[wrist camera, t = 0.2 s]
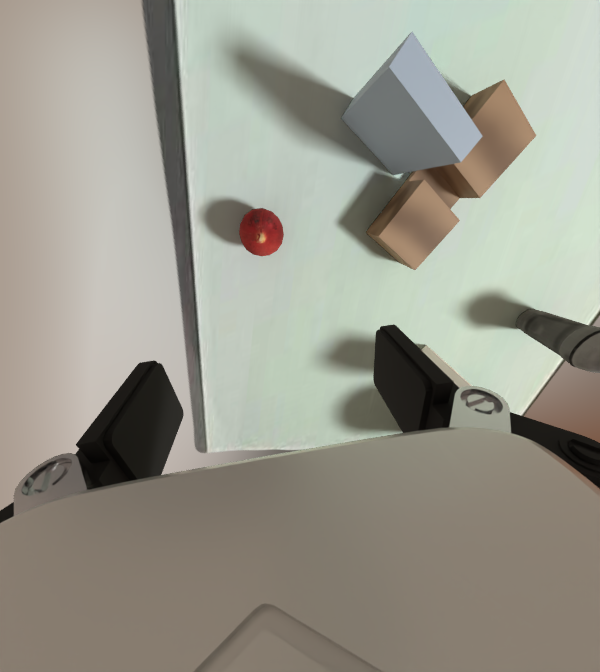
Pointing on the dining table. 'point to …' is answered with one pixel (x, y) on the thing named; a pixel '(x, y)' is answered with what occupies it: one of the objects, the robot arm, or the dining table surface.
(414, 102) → the grey block
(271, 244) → the red pomegranate
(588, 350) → the beverage cup
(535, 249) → the dining table surface
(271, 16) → the dining table surface
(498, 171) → the slotted base
